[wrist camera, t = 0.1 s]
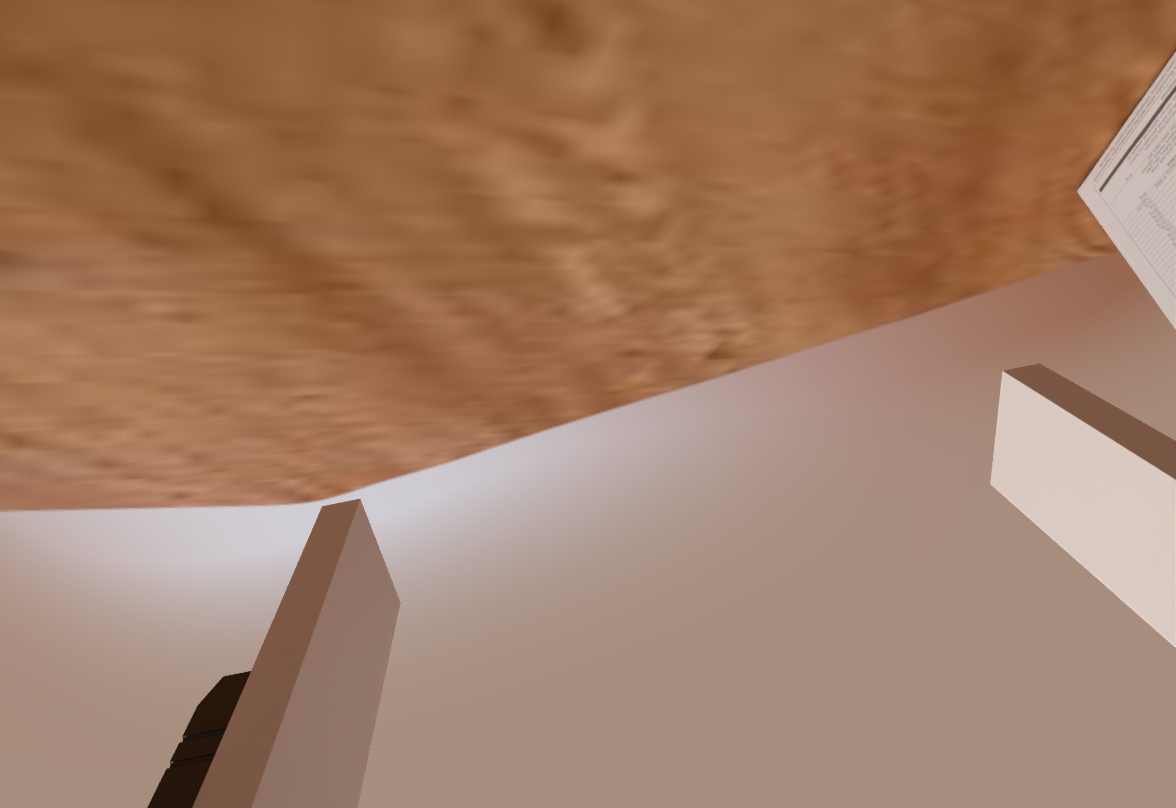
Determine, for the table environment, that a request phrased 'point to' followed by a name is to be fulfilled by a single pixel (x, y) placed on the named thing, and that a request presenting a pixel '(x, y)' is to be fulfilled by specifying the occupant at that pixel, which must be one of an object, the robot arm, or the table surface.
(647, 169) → the table surface
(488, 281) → the table surface
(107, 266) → the table surface
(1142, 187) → the supplement box
